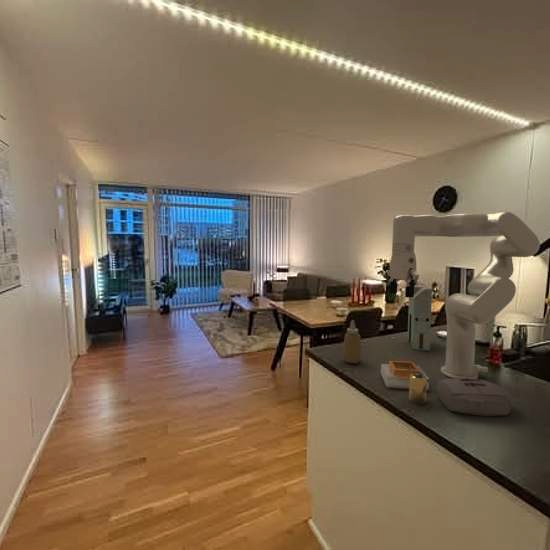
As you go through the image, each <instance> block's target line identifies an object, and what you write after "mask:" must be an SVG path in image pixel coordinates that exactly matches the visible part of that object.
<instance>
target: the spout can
mask: <svg viewBox="0 0 550 550" xmlns="http://www.w3.org/2000/svg"><path fill="white" fill-rule="evenodd" d="M427 377H428V376H427ZM427 377H426V376H425V375H423V374H422V373H419V372H414V373H411V374H410V380H409V389H408V400H409V401H410V402H412V403H413V404H418V405H420V404H421V405H422V404H425V403H426V402H427V390H426V382H427Z"/></svg>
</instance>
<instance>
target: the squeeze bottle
mask: <svg viewBox="0 0 550 550" xmlns="http://www.w3.org/2000/svg"><path fill="white" fill-rule="evenodd" d="M361 339H362V338H361V335H360V334H359V329H358V328H356V324H355V320H351V321H350V325H349V327H348V328H347V329H346V333H345V334H344V339H343V347H342V355H343V357H344V360H345V362H347V363H349V364H358V363H359V362H360V360H361V357H362V355H363V352H362V351H363V350H362V341H361Z"/></svg>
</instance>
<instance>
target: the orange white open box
mask: <svg viewBox="0 0 550 550" xmlns="http://www.w3.org/2000/svg"><path fill="white" fill-rule="evenodd" d="M414 372H419V373H422V374H423V375H425V376H426V377H427V382H426V391H429V390H430V378H429V377H428V376H427V374H426V373H425V371H424V370H423V369H422V368H421V366H420V365H416V364H415V363H414V362H413V361H400V360H398V361H397V360H388V363H381V364H380V375H381V377H382V380H383V382H384V384H385V386H386V388H389V389H390V388H393V389H408V390H409V380H410V374H411V373H414Z"/></svg>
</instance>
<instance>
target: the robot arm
mask: <svg viewBox="0 0 550 550" xmlns="http://www.w3.org/2000/svg"><path fill="white" fill-rule="evenodd" d="M392 222H393V224H392V226H393V227H392V244H391V245H392V246H391V248H392V249H391V250H392V251H391V257H390V265H389V269H388V270H387V271H386V274H387V279H388V285H389V288H388V289H389V291H388V293H389V294H390V295H392V294H398V281H404V282H405V284H406V286H405V291H404V297H405V298H407V299H409V297H414V286H417V283H418V280H419V277H420V274H419V273H418V272H417V270H418V269H417V257H416V253H415V239H416V237H448V238H460V237H461V238H464V237H465V238H466V237H469V238H471V237H474V238H475V237H477V238H478V237H480V238H481V237H484V238H485V237H494V238H493V239H492V240H491V242H490V244H489V251H490V252H489V253H490V260H489V263H488V264H487V265H486V266H485V267H484V268H483V269H482V270H481V271H480V272H479V273H478V274H477V275H475V276H474V278H473V279H471V280H470V282H469V283H468V285H467V292H468V293H469V294H466V293H461V292H459V293H453V294H451V295H449V296H448V297H447V298H446V301H445V303H444V310H445V315H446V339H445V341H446V345H445V361H444V362H445V365H443V366H441V367H440V373H441V374H443V375H444V376H446V377H448V378H450V379H456V378H470V379H478V378H479V372H482V373H488V372H489V367H488V366H481V364H476V363H475V354H476V352H475V350H476V349H475V348H476V336H477V335H476V325H475V324H477V325H484V324H486V323H488V322H490V321H492V320H493V319H494V318H495V317H496V316H497V315H499V313H500V312H502V311H503V310H504V309H505V308H506V307H507V306H508V305H509V304H510V303H511V302H512V301H513V299H514V298H515V296H516V293H517V289H516V288H517V286H516V284H515V282H514V281H513V280H512V279H510V278H511V277H512V276H513V274H514V262H513V258H529V257H533V256H534V255H536V254H537V252H538V251H539V250H540V247H541V243H540V239H539V237H538V236H537V234H535V232H534V231H533V230H532V229H531V228H530V227H529V226H528V225H527V224H526V223H525V222H524V221H523V220H522V219H521V218H520V217H519V216H518V215H516V214H515V213H512V212H510V211H500V212H494V213H456V214H454V213H453V214H448V215H442V216H436V215H434V214H424V215H411V214H400V215H396V216H394V218H393V221H392Z"/></svg>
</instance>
